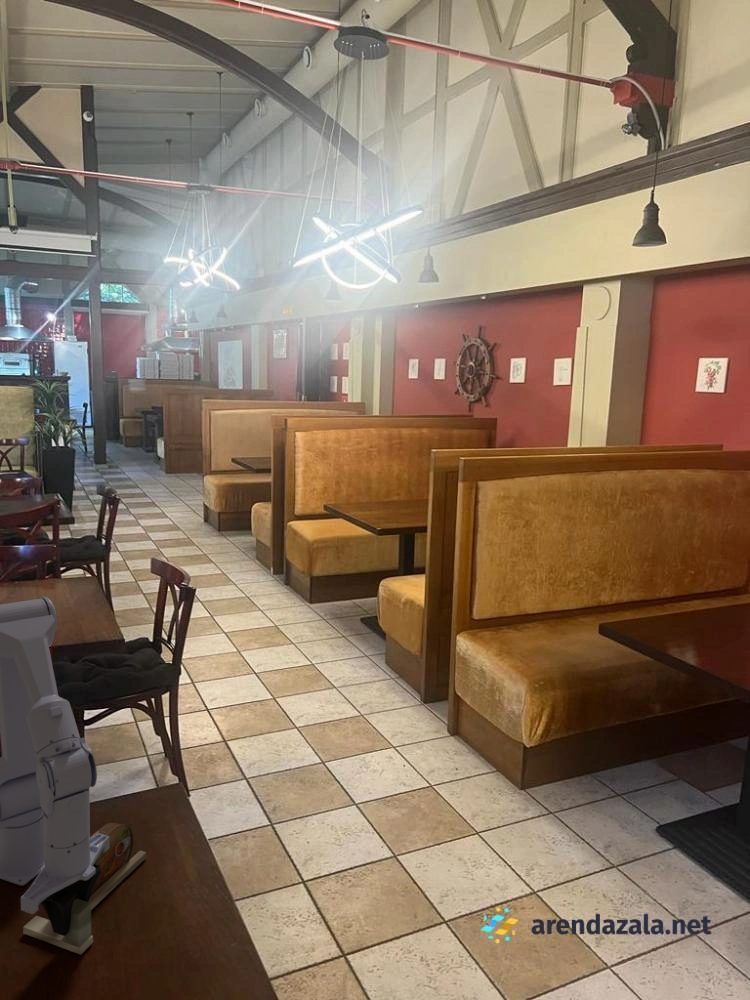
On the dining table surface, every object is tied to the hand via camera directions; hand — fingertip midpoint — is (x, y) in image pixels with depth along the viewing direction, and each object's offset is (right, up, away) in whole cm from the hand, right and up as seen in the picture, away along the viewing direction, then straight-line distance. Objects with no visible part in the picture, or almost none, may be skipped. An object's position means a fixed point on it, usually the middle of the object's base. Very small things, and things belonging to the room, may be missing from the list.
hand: (69, 924), depth 100 cm
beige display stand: (+1, -1, +9) cm, 10 cm away
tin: (-1, -1, +11) cm, 11 cm away
